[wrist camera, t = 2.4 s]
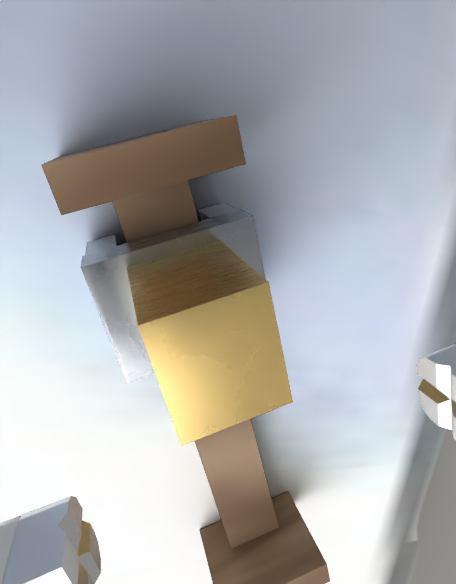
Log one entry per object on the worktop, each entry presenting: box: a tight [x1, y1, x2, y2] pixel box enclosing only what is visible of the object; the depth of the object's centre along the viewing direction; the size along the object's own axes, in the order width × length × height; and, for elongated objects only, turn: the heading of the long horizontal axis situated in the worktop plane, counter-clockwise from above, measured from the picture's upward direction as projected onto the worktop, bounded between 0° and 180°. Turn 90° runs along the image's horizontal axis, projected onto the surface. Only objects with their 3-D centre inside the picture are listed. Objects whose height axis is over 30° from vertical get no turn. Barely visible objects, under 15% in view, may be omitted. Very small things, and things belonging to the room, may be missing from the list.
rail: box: [42, 115, 330, 584], centre depth 19 cm, size 24×6×5 cm, turn 14°
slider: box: [81, 203, 293, 446], centre depth 15 cm, size 5×6×9 cm
